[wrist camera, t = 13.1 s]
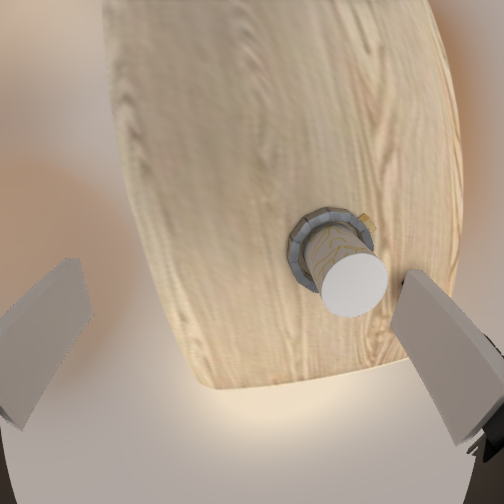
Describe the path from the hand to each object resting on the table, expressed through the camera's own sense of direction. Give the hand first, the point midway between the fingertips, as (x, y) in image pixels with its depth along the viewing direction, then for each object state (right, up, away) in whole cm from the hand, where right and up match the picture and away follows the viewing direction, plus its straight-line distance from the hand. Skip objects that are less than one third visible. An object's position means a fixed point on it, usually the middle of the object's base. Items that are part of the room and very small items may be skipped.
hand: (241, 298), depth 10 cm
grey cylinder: (+12, +2, +31) cm, 33 cm away
